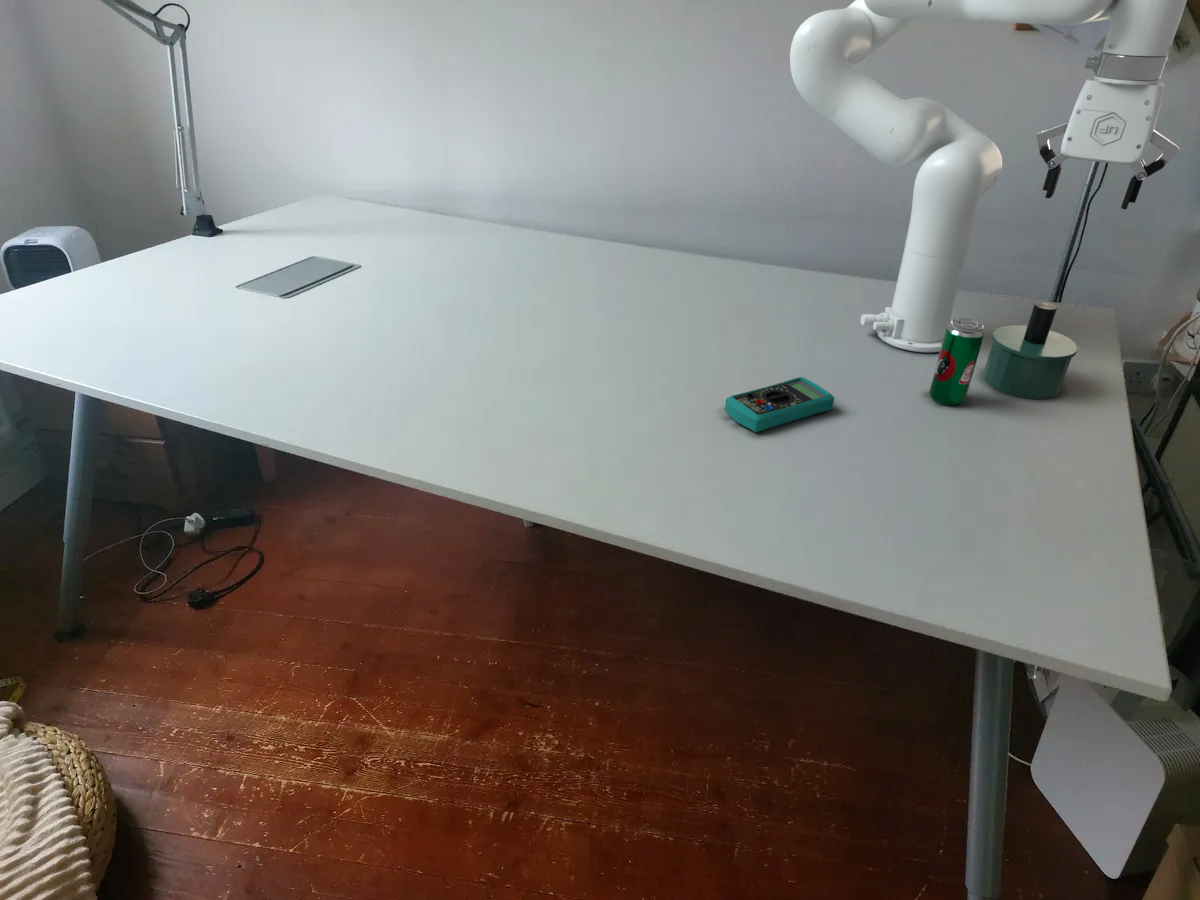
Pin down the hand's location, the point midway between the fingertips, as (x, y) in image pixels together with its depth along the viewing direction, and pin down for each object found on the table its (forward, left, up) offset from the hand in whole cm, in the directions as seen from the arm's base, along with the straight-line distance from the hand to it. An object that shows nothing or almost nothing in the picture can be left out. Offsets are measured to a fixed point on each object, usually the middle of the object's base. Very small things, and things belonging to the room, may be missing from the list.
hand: (1086, 201), depth 114 cm
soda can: (-18, -10, -27) cm, 34 cm away
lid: (-4, -5, -20) cm, 21 cm away
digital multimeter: (-44, -13, -27) cm, 53 cm away
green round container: (-4, -5, -26) cm, 27 cm away
